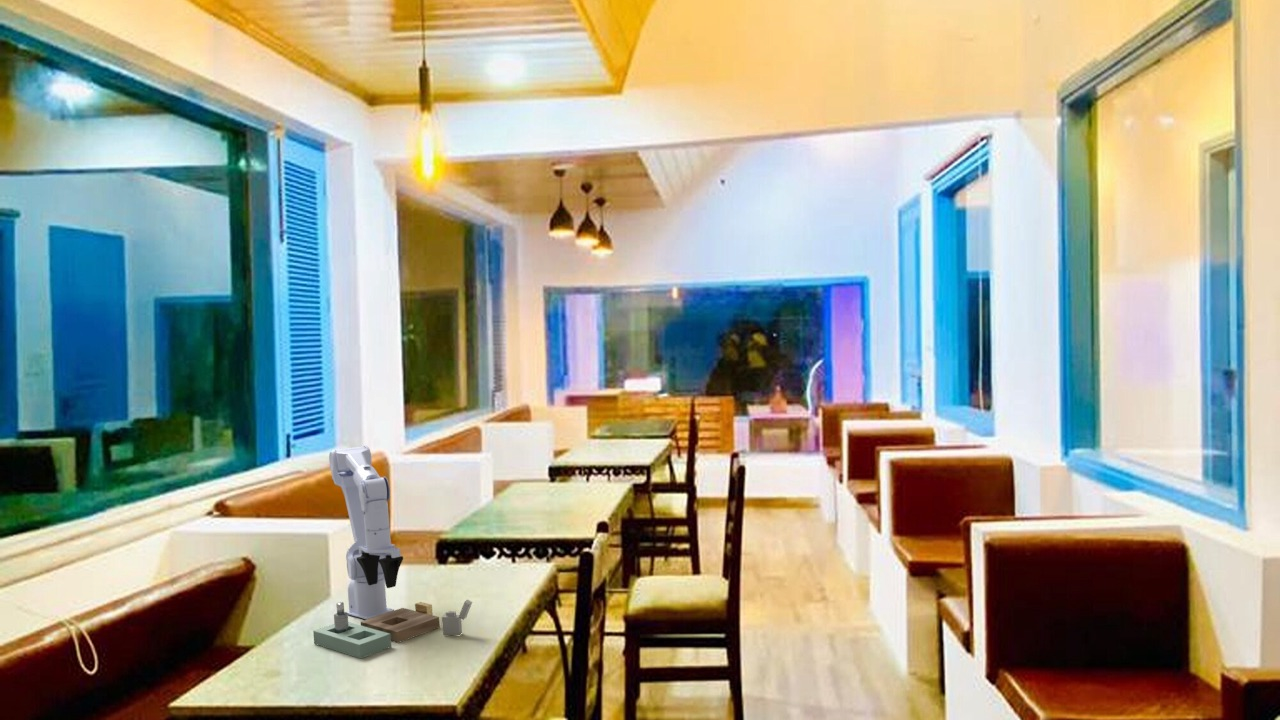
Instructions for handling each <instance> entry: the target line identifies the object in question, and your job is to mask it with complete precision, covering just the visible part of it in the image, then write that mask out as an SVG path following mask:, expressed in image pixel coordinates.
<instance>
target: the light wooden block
mask: <svg viewBox="0 0 1280 720" xmlns="http://www.w3.org/2000/svg"><path fill="white" fill-rule="evenodd" d="M414 607H415V609H414V610H415V611H417V612H421V613H426V614H430V615H433V613H434V612H433V604H432V603H431V604H430V603H427V602H422V601H419V602H416V603H414Z"/></svg>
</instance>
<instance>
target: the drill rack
mask: <svg viewBox="0 0 1280 720" xmlns="http://www.w3.org/2000/svg"><path fill="white" fill-rule="evenodd" d="M348 626H349V630H348V631H345V632H342V633H340V634H337V633H335V624H334V623H333V624H329V625H327V626H324V627H321V628H320V627H319V628H318V629H315V630H313V631H312V632H313V644H314V645H317V644H318V645H317V646H320V645H321V647H323V646H324V648H327V649H330V650H332V651H335V652H338V653H342V654H345V655H348V656H352V657H355V658H358V659H362V658H366V657H368V656H371V655H373V654H376V653H379V652H381V650H382V651H384V650H386V648H387V649H389V648H388V647H390V648H392V641H391V636H390V634H389V633H386V632H382V631H379V630H375V629H372V628H368V627H364V626H361V624H358V623H352V622H350V621H348ZM383 649H384V650H383ZM378 651H379V652H378Z"/></svg>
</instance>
